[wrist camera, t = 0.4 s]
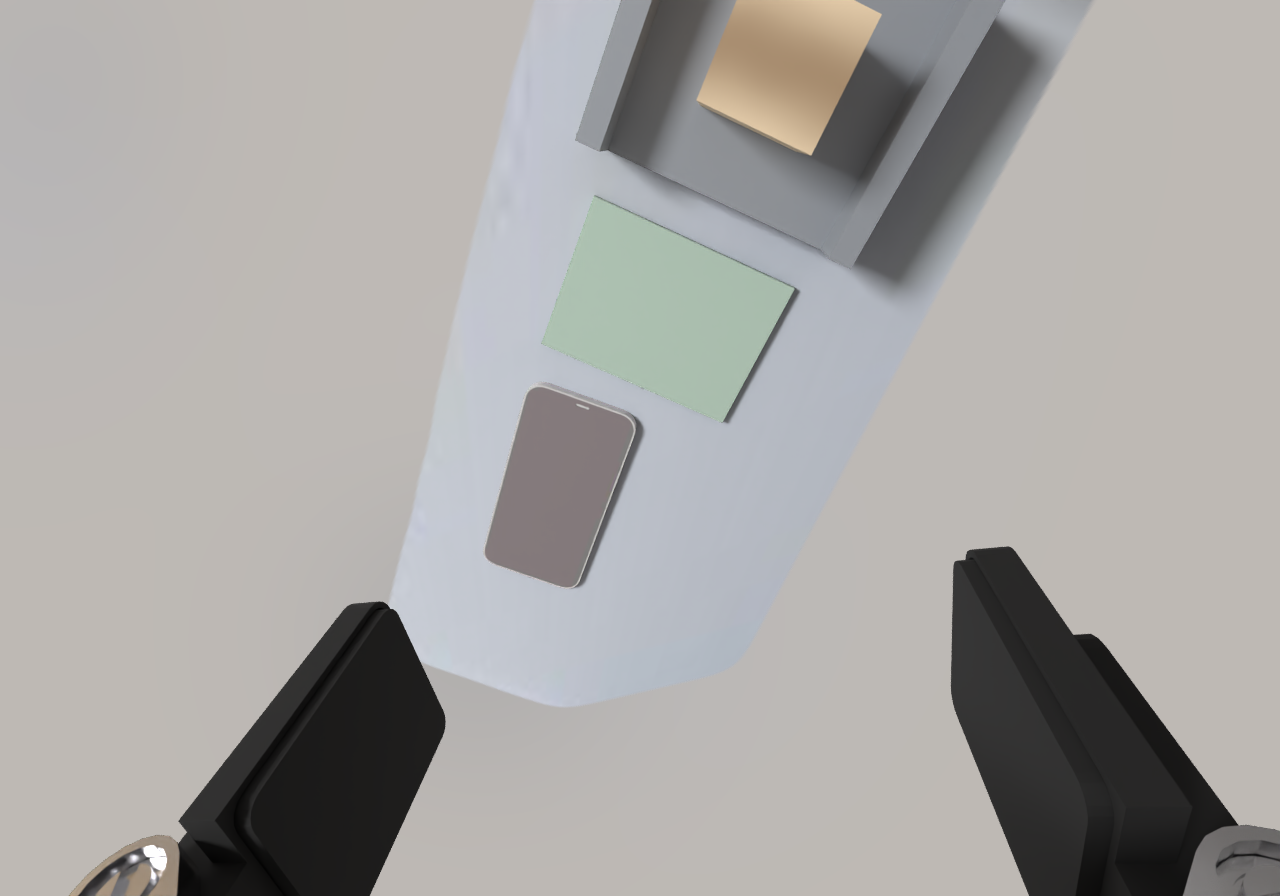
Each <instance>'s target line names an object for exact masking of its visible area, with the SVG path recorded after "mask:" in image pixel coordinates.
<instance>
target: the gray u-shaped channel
mask: <svg viewBox="0 0 1280 896" xmlns="http://www.w3.org/2000/svg"><path fill="white" fill-rule="evenodd" d="M736 1H737V0H621V2H620V5H619V8H618V11H617V14H616V17H615V20H614V23H613V26H612V29H611V32H610V35H609V38H608V42H607V45H606V48H605V51H604V54H603V57H602V60H601V63H600V66H599V69H598V72H597V75H596V78H595V81H594V84H593V87H592V90H591V93H590V96H589V99H588V102H587V105H586V108H585V111H584V114H583V118H582V121H581V124H580V127H579V130H578V133H577V136H576V139H575V141H578V142H580V143H582V144H584V145H586V146H588V147H590V148H593V149H595V150H597V151H599V152H600V151H606V150H609V151H611V152H613V153H615V154H617V155H619V156H621V157H624V158H626V159H628V160H630V161H632V162H634V163H636V164H638V165H641V166H643V167H645V168H647V169H649V170H651V171H653V172H656V173H658V174H660V175H662V176H664V177H666V178H668V179H670V180H673V181H675V182H677V183H679V184H681V185H683V186H685V187H688V188H690V189H692V190H694V191H696V192H698V193H700V194H703V195H705V196H707V197H709V198H711V199H713V200H715V201H717V202H720V203H722V204H724V205H726V206H728V207H730V208H732V209H735V210H737V211H739V212H741V213H743V214H745V215H747V216H749V217H752V218H754V219H756V220H758V221H760V222H762V223H764V224H767V225H769V226H771V227H773V228H775V229H777V230H779V231H781V232H784V233H786V234H788V235H790V236H792V237H794V238H796V239H799V240H801V241H803V242H805V243H807V244H809V245H811V246H814V247H816V248H818V249H820V250H821V251H822V252H823V253H824V254H825V256H826V257H827V258H828V259H830V260H832V261H834V262H836V263H838V264H841V265H843V266H845V267H847V268H849V269H851V268H852V266H853V264H854V263H855V261H856V259H857V257H858V256H859V254H860V252H861V250H862V249H863V247H864V245H865V243H866V242H867V240H868V238H869V236H870V235H871V233H872V231H873V230H874V228H875V226H876V224H877V223H878V221H879V219H880V217H881V216H882V214H883V212H884V210H885V209H886V207H887V205H888V204H889V202H890V200H891V198H892V197H893V195H894V193H895V191H896V190H897V188H898V186H899V184H900V183H901V181H902V179H903V177H904V176H905V174H906V172H907V171H908V169H909V167H910V165H911V164H912V162H913V160H914V158H915V157H916V155H917V153H918V151H919V150H920V148H921V146H922V144H923V143H924V141H925V139H926V138H927V136H928V134H929V132H930V131H931V129H932V127H933V125H934V124H935V122H936V120H937V118H938V117H939V115H940V113H941V111H942V110H943V108H944V106H945V105H946V103H947V101H948V99H949V98H950V96H951V94H952V92H953V91H954V89H955V87H956V85H957V84H958V82H959V80H960V78H961V77H962V75H963V73H964V72H965V70H966V68H967V66H968V65H969V63H970V61H971V59H972V58H973V56H974V54H975V52H976V51H977V49H978V47H979V45H980V44H981V42H982V40H983V39H984V37H985V35H986V33H987V32H988V30H989V28H990V26H991V25H992V23H993V21H994V19H995V18H996V16H997V14H998V13H999V11H1000V9H1001V7H1002V6H1003V4H1004V2H1005V0H855V1H857V2H859V3H861V4H863V5H865V6H867V7H869V8H871V9H873V10H875V11H876V12H878V13H880V14H882V15H881V17H880V19H879V21H878V23H877V25H876V27H875V29H874V31H873V33H872V35H871V37H870V39H869V41H868V43H867V45H866V47H865V49H864V51H863V53H862V55H861V57H860V59H859V61H858V63H857V65H856V67H855V69H854V71H853V73H852V75H851V77H850V79H849V81H848V83H847V85H846V87H845V89H844V91H843V93H842V95H841V97H840V99H839V101H838V103H837V105H836V107H835V109H834V111H833V113H832V115H831V117H830V119H829V121H828V123H827V125H826V127H825V129H824V131H823V133H822V135H821V137H820V139H819V141H818V143H817V145H816V147H815V149H814V151H813V153H812V155H807V154H803V153H800V152H796V151H793V150H791V149H789V148H787V147H785V146H783V145H781V144H779V143H777V142H775V141H773V140H771V139H769V138H766V137H764V136H762V135H760V134H758V133H756V132H754V131H752V130H750V129H748V128H746V127H744V126H742V125H739V124H737V123H735V122H733V121H731V120H729V119H727V118H725V117H723V116H721V115H719V114H717V113H715V112H712V111H710V110H708V109H706V108H704V107H702V106H700V104H699V103H698V102H697V101H696V100H697V97H698V95H699V92H700V90H701V87H702V85H703V82H704V80H705V77H706V75H707V72H708V70H709V68H710V65H711V63H712V60H713V58H714V55H715V53H716V50H717V48H718V45H719V43H720V40H721V38H722V35H723V33H724V30H725V28H726V25H727V23H728V20H729V18H730V15H731V13H732V10H733V8H734V5H735V3H736Z"/></svg>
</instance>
